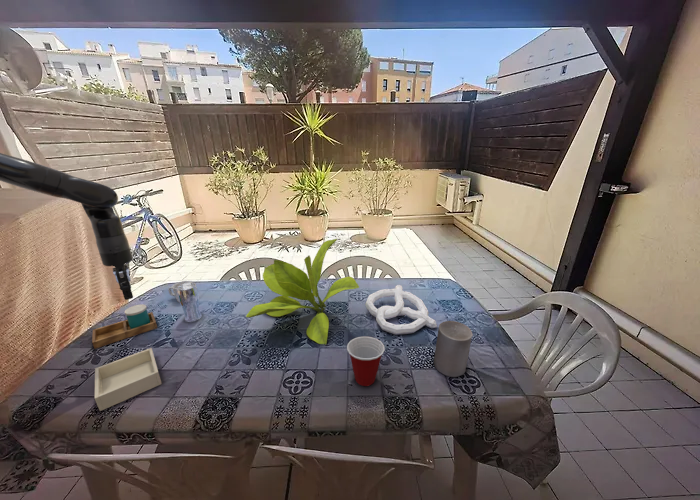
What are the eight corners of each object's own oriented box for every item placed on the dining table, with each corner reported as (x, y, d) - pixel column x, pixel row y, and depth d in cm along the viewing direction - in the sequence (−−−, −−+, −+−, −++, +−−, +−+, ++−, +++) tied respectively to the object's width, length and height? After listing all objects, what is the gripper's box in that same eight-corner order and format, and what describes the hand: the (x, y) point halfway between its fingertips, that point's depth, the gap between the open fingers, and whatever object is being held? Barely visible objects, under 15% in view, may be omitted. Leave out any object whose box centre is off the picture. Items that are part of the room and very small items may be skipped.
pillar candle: (435, 352, 92) (440, 314, 87) (466, 360, 89) (473, 321, 84) (431, 372, 84) (437, 331, 79) (465, 381, 80) (473, 340, 75)
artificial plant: (276, 306, 131) (231, 268, 113) (347, 254, 132) (315, 208, 114) (294, 381, 98) (235, 345, 80) (390, 310, 99) (354, 259, 81)
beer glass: (207, 316, 112) (200, 284, 107) (191, 325, 106) (183, 291, 101) (195, 312, 114) (188, 280, 109) (179, 321, 108) (171, 288, 103)
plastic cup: (378, 363, 87) (379, 332, 83) (387, 391, 77) (389, 357, 73) (344, 367, 86) (344, 335, 81) (349, 395, 75) (349, 361, 71)
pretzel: (442, 330, 106) (445, 317, 103) (389, 347, 98) (391, 334, 95) (403, 290, 129) (405, 279, 126) (358, 301, 121) (359, 289, 118)
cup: (165, 304, 121) (161, 288, 118) (176, 295, 128) (173, 280, 125) (189, 305, 120) (185, 288, 118) (199, 296, 128) (196, 280, 125)
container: (131, 334, 99) (125, 315, 97) (129, 326, 104) (123, 308, 101) (152, 327, 103) (147, 309, 101) (150, 320, 108) (145, 302, 105)
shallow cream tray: (100, 412, 70) (94, 398, 69) (100, 381, 80) (94, 368, 78) (162, 384, 79) (158, 371, 77) (155, 359, 88) (151, 347, 87)
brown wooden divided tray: (95, 350, 92) (92, 342, 91) (95, 337, 99) (92, 329, 98) (158, 329, 104) (156, 322, 102) (154, 318, 110) (152, 311, 109)
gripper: (99, 245, 89) (113, 289, 94) (98, 257, 78) (114, 306, 84) (127, 241, 93) (140, 283, 99) (130, 251, 83) (144, 298, 88)
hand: (128, 293), depth 91 cm, fingers open, 8 cm apart
